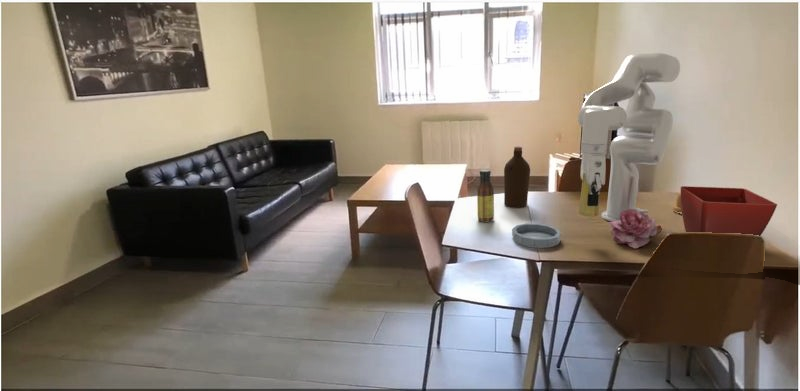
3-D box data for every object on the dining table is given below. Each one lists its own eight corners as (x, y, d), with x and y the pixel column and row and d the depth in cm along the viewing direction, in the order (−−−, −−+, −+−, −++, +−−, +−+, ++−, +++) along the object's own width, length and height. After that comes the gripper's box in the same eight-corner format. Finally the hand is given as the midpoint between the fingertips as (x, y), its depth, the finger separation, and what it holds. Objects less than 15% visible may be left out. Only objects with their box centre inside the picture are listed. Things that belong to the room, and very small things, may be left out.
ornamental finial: (670, 213, 171) (674, 208, 176) (693, 216, 166) (696, 212, 172) (673, 193, 169) (677, 189, 174) (696, 196, 164) (699, 192, 169)
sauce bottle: (495, 218, 171) (497, 169, 165) (491, 223, 165) (493, 172, 160) (479, 216, 174) (480, 168, 168) (474, 221, 168) (475, 171, 163)
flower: (599, 224, 153) (609, 200, 148) (642, 229, 152) (654, 206, 147) (611, 251, 141) (622, 227, 135) (658, 257, 140) (671, 233, 134)
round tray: (553, 231, 156) (553, 223, 155) (565, 248, 141) (565, 239, 140) (509, 231, 157) (509, 223, 156) (516, 247, 142) (517, 239, 141)
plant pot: (735, 235, 147) (744, 187, 142) (767, 258, 129) (779, 204, 125) (672, 232, 151) (679, 185, 147) (695, 254, 133) (703, 202, 129)
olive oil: (528, 209, 181) (532, 149, 174) (502, 208, 184) (504, 149, 177) (527, 201, 191) (530, 145, 184) (503, 200, 193) (505, 145, 187)
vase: (600, 217, 141) (604, 174, 137) (580, 216, 142) (583, 174, 138) (596, 210, 147) (599, 169, 143) (576, 210, 148) (579, 169, 144)
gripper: (616, 153, 130) (611, 211, 135) (596, 143, 146) (592, 194, 151) (590, 154, 130) (586, 211, 136) (573, 144, 147) (570, 195, 152)
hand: (589, 202), depth 143 cm, fingers closed on vase, 5 cm apart
